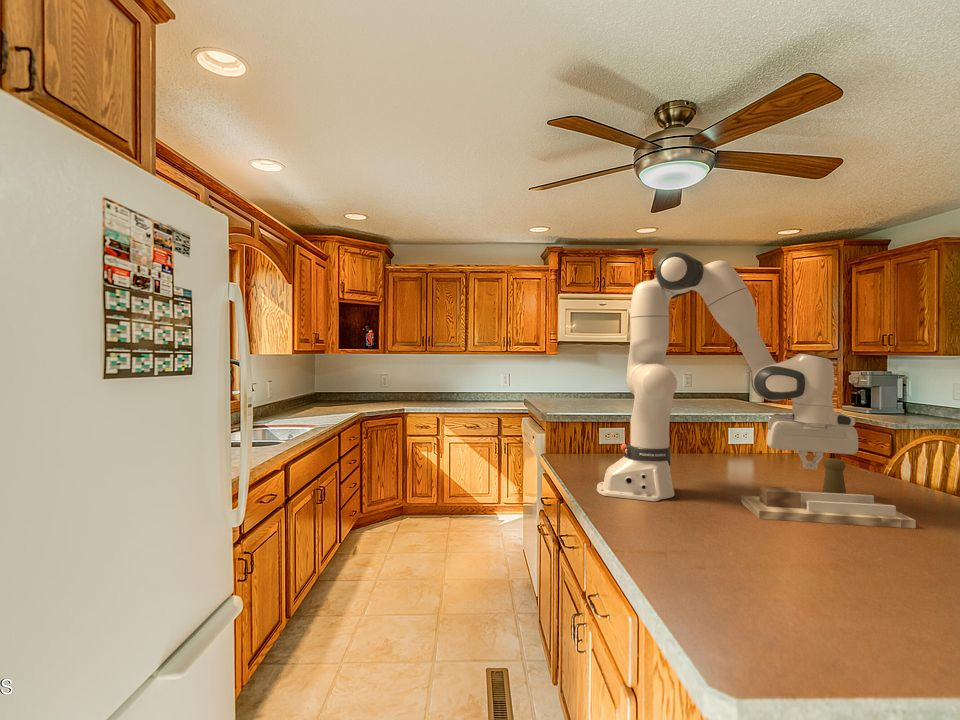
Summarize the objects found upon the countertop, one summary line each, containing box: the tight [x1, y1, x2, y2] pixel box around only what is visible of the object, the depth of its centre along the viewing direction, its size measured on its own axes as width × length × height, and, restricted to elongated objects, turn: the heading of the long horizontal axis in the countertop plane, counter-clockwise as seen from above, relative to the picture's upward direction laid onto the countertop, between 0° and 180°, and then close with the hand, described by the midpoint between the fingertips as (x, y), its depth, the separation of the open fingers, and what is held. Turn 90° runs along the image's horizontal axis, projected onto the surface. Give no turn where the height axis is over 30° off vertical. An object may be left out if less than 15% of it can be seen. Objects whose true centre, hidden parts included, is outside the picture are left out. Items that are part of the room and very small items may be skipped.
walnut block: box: [759, 485, 801, 508], centre depth 128 cm, size 8×5×4 cm, turn 78°
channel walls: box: [797, 490, 897, 517], centre depth 125 cm, size 19×10×2 cm, turn 78°
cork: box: [821, 458, 847, 494], centre depth 143 cm, size 6×6×11 cm
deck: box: [740, 495, 917, 530], centre depth 126 cm, size 34×14×2 cm, turn 78°
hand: (809, 468), depth 126 cm, fingers closed
